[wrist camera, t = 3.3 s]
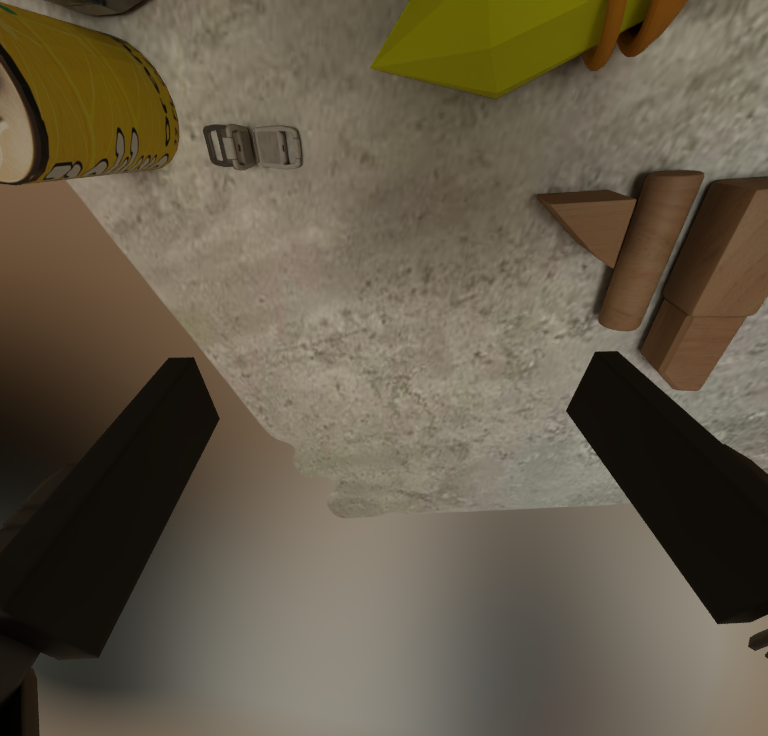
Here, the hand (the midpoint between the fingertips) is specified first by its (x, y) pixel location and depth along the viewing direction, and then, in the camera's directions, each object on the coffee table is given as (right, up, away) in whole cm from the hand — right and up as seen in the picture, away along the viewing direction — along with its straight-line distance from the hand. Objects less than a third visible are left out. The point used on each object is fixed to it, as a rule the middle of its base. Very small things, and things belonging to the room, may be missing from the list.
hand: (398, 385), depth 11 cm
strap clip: (-12, +20, +17) cm, 29 cm away
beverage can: (-23, +23, +17) cm, 36 cm away
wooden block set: (+21, +9, +19) cm, 29 cm away
